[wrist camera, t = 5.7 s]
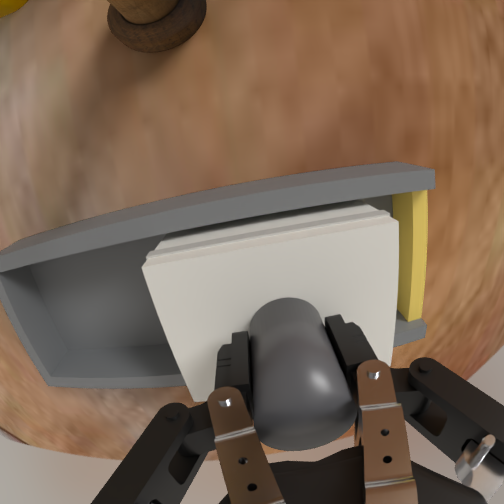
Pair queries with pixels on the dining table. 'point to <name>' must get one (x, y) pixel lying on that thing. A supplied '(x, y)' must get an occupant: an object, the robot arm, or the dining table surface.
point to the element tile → (10, 6)
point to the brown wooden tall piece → (155, 22)
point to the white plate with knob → (280, 308)
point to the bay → (147, 239)
